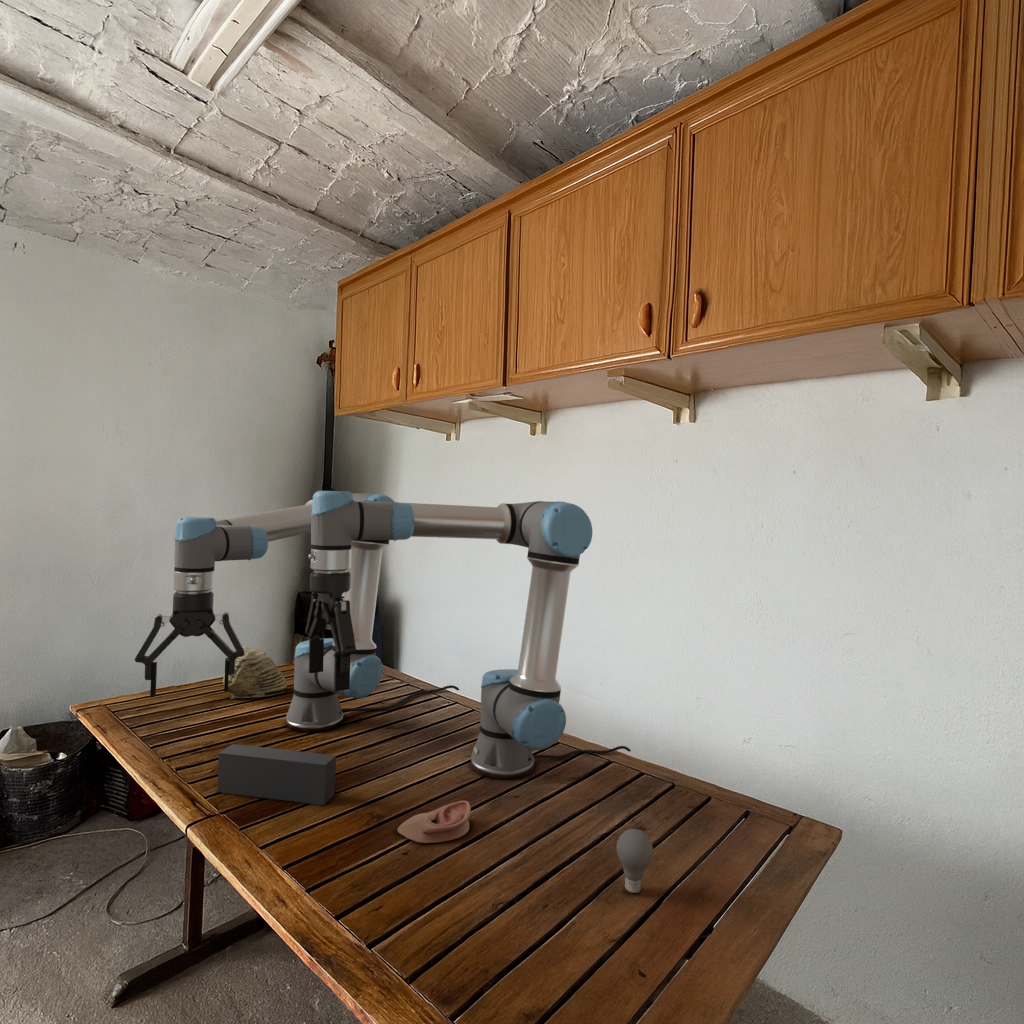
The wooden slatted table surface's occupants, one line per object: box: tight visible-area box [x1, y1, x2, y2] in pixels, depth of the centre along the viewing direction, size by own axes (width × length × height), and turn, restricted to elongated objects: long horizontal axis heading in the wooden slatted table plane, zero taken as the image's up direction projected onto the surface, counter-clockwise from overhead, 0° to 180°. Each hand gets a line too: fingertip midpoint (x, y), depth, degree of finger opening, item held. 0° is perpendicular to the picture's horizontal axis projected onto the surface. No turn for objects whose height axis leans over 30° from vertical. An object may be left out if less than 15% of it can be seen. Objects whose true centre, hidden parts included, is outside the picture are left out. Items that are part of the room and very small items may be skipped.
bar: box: [216, 743, 337, 806], centre depth 134 cm, size 24×5×8 cm, turn 81°
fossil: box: [222, 646, 288, 699], centre depth 198 cm, size 9×18×15 cm, turn 132°
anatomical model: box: [396, 800, 472, 844], centre depth 123 cm, size 13×4×12 cm
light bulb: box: [615, 828, 654, 894], centre depth 106 cm, size 6×6×10 cm
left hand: (190, 692), depth 132 cm, fingers open, 13 cm apart
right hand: (328, 680), depth 122 cm, fingers open, 13 cm apart
